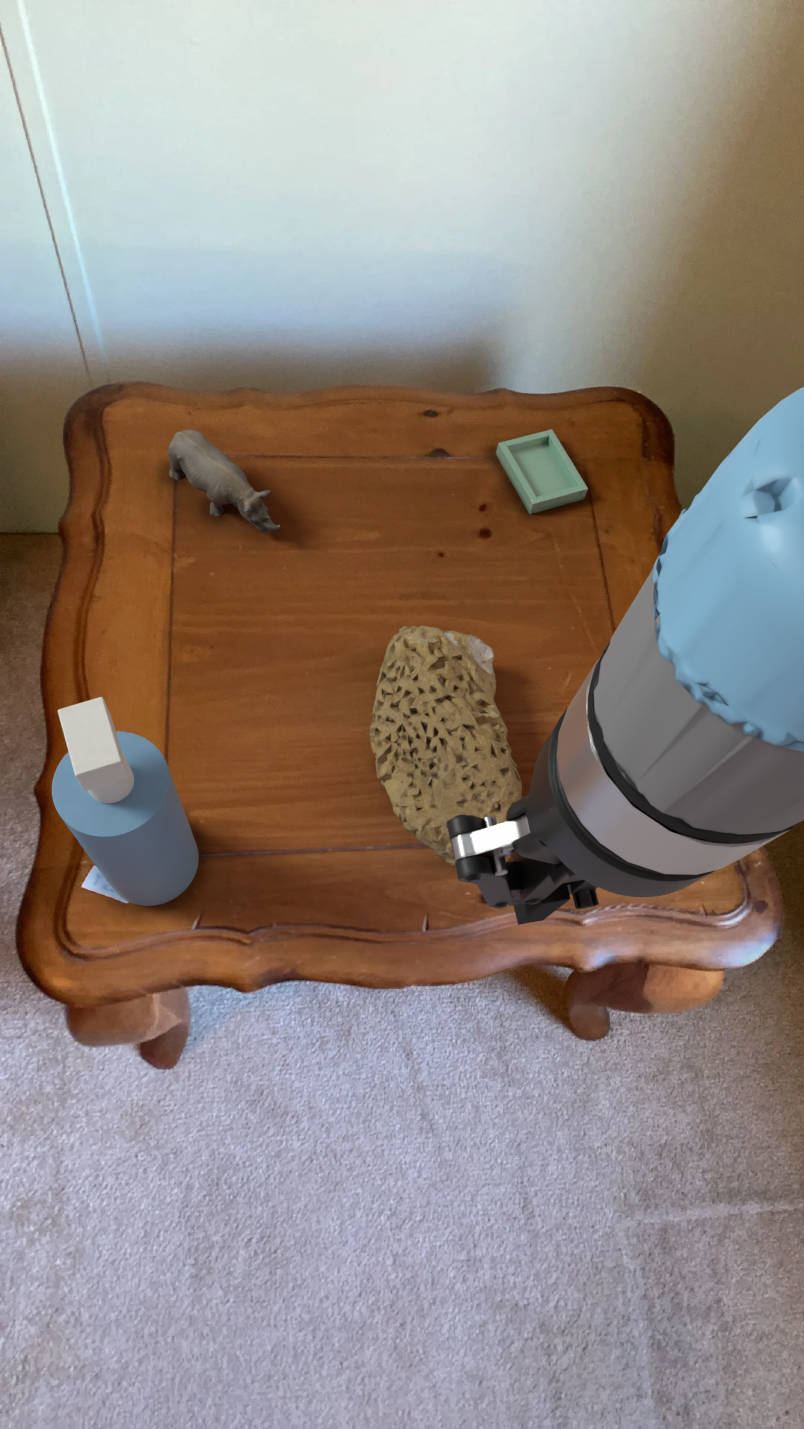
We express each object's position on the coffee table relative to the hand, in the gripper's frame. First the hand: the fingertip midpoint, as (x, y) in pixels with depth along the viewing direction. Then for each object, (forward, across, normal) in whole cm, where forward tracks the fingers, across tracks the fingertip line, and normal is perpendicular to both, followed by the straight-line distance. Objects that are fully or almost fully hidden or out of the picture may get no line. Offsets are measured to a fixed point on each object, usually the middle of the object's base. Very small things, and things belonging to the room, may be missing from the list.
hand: (525, 899), depth 53 cm
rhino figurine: (+22, +14, -44) cm, 51 cm away
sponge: (+20, -1, -15) cm, 25 cm away
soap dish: (+22, -16, -44) cm, 52 cm away
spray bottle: (+19, +24, -10) cm, 32 cm away
